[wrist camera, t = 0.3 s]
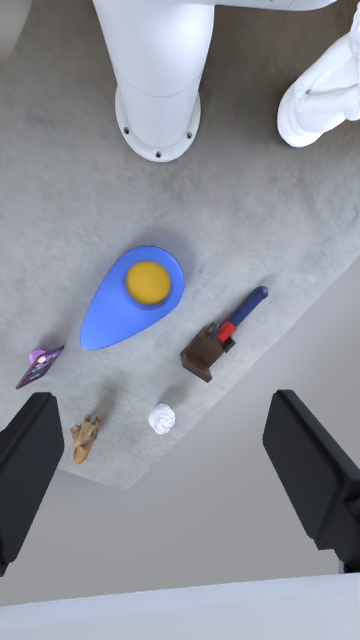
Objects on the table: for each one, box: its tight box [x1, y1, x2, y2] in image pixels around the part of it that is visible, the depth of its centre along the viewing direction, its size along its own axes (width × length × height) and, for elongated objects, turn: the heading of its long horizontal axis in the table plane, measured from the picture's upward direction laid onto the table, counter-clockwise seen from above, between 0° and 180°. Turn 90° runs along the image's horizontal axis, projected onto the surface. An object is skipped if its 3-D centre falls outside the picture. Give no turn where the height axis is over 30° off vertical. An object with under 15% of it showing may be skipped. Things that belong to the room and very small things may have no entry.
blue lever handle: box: [217, 286, 268, 341], centre depth 46 cm, size 14×3×3 cm, turn 141°
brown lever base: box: [180, 323, 236, 383], centre depth 47 cm, size 10×7×5 cm
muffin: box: [149, 403, 175, 434], centre depth 52 cm, size 6×6×7 cm
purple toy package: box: [16, 346, 64, 389], centre depth 45 cm, size 7×5×9 cm
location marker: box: [80, 246, 184, 350], centre depth 43 cm, size 13×3×25 cm
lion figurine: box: [69, 416, 101, 464], centre depth 51 cm, size 15×5×9 cm, turn 168°
